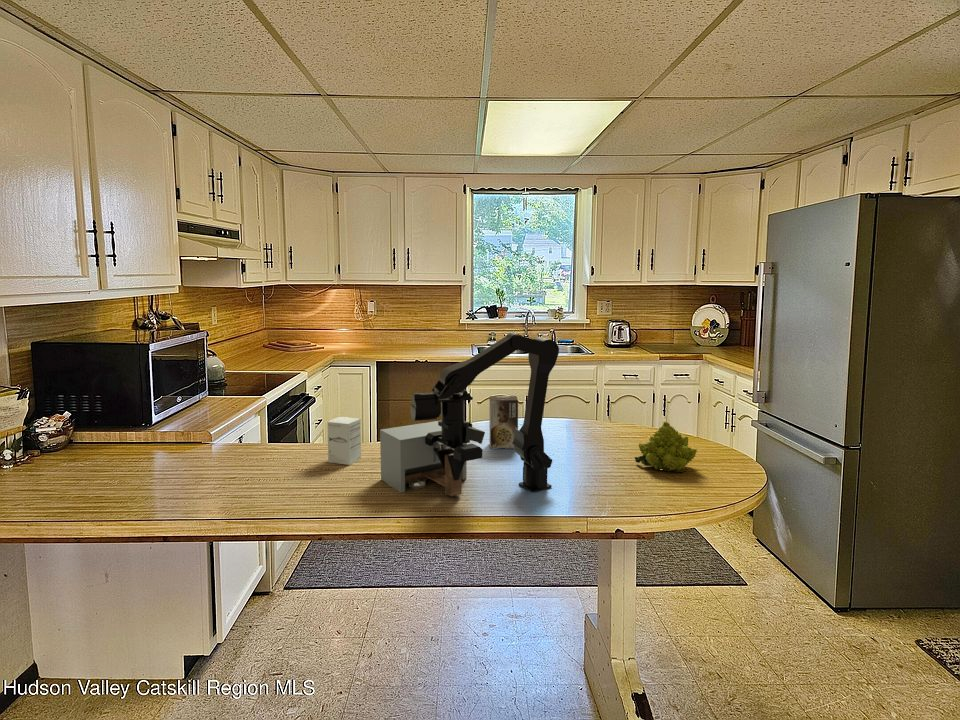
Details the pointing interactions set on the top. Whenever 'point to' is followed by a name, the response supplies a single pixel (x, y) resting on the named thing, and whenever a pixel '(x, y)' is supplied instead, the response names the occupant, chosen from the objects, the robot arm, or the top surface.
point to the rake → (440, 478)
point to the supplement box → (344, 440)
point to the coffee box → (503, 421)
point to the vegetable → (666, 450)
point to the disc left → (417, 483)
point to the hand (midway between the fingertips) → (452, 478)
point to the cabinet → (408, 453)
